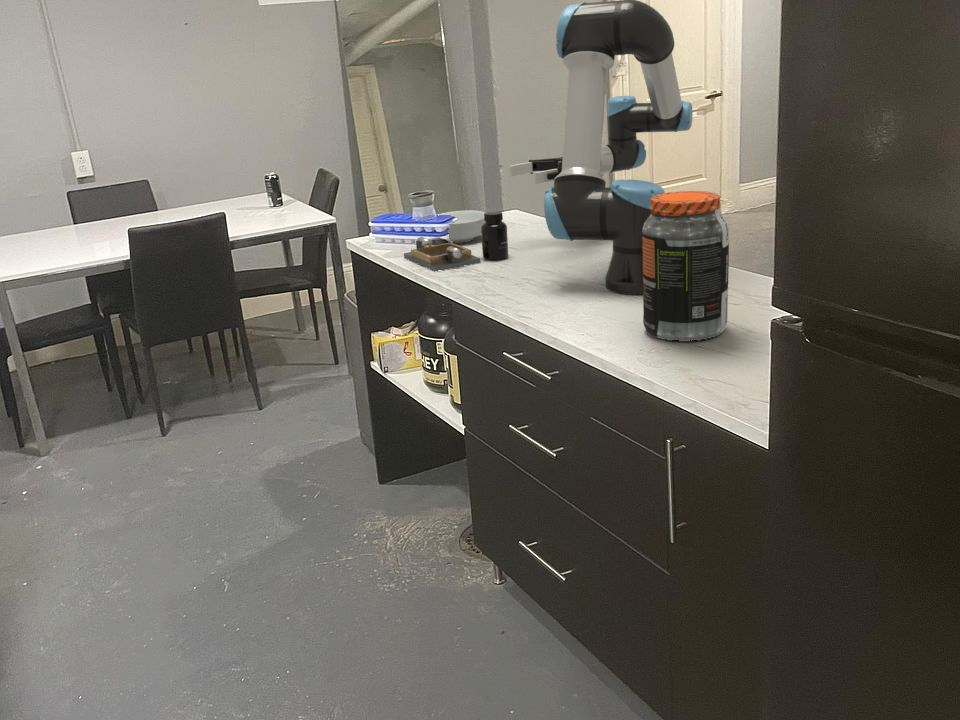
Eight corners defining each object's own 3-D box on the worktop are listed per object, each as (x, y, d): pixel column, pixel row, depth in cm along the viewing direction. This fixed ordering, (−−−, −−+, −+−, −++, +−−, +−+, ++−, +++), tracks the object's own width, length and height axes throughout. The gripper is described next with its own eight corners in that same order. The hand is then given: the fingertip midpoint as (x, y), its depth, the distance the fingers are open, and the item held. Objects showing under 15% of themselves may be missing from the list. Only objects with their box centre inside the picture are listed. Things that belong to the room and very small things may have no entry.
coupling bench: (481, 263, 234) (480, 244, 232) (436, 272, 229) (434, 253, 227) (446, 249, 251) (445, 232, 250) (403, 257, 246) (402, 240, 244)
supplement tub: (742, 325, 173) (746, 191, 165) (701, 349, 163) (703, 207, 154) (669, 313, 184) (669, 186, 175) (626, 335, 173) (624, 201, 164)
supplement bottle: (508, 260, 235) (506, 214, 231) (482, 262, 235) (479, 216, 231) (508, 254, 241) (505, 209, 237) (483, 255, 241) (480, 211, 237)
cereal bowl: (422, 239, 266) (420, 215, 263) (473, 231, 272) (472, 207, 270) (445, 250, 251) (442, 225, 249) (498, 240, 257) (497, 216, 255)
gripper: (618, 182, 232) (546, 196, 224) (568, 169, 253) (501, 181, 246) (617, 153, 229) (544, 166, 222) (567, 142, 250) (499, 154, 243)
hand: (522, 174), depth 233 cm, fingers open, 13 cm apart
